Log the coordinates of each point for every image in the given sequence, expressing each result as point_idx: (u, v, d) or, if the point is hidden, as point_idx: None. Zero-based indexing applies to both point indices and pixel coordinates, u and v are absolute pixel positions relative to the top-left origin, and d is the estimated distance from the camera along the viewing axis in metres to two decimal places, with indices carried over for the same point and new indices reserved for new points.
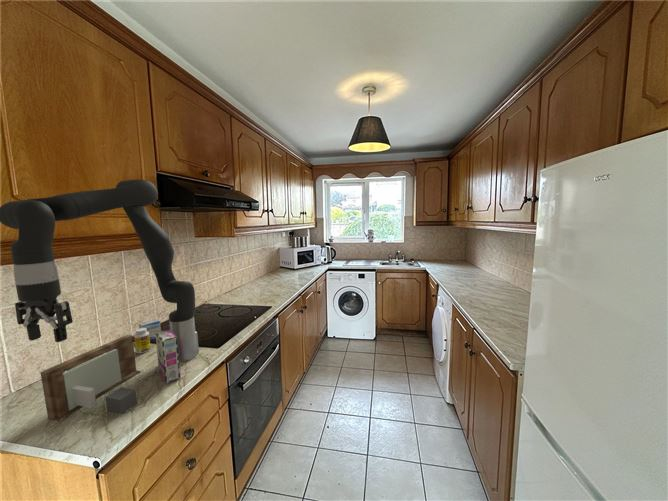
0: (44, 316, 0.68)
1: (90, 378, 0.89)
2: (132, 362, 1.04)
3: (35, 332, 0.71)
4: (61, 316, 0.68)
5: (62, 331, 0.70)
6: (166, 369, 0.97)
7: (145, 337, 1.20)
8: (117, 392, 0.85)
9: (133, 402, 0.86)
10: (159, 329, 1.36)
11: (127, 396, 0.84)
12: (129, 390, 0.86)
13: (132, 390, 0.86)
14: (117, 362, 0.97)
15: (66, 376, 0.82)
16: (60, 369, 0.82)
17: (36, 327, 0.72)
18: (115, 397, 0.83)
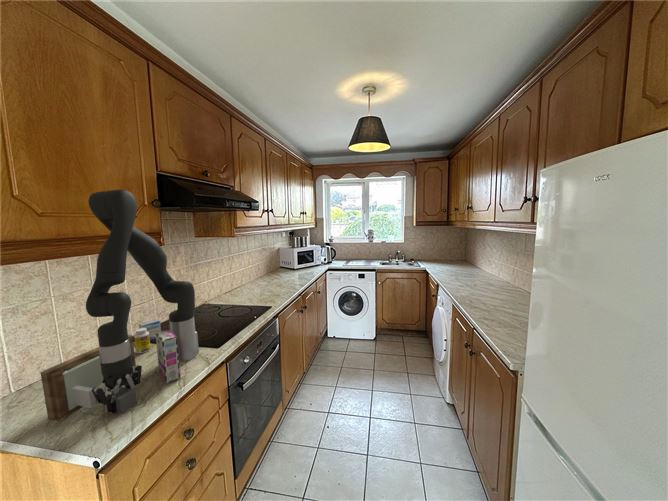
0: (130, 380, 0.87)
1: (90, 378, 0.89)
2: (132, 362, 1.04)
3: None
4: None
5: None
6: (166, 369, 0.97)
7: (145, 337, 1.20)
8: None
9: (133, 402, 0.86)
10: (159, 329, 1.36)
11: (127, 396, 0.84)
12: (129, 390, 0.86)
13: (132, 390, 0.86)
14: None
15: (66, 376, 0.82)
16: (60, 369, 0.82)
17: None
18: (115, 397, 0.83)
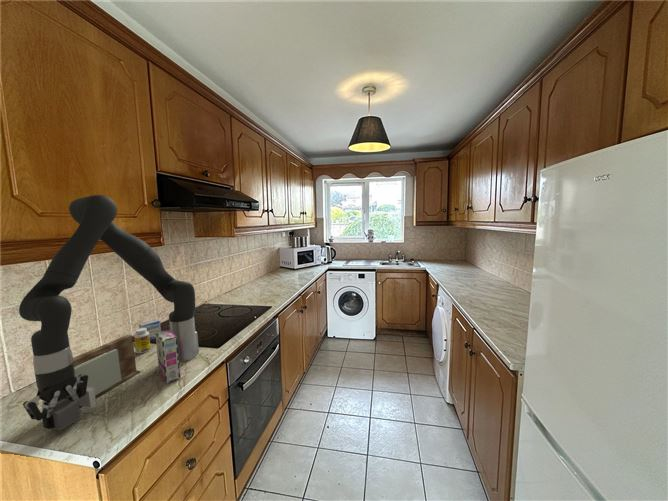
0: (73, 392, 0.78)
1: (90, 378, 0.89)
2: (132, 362, 1.04)
3: None
4: None
5: None
6: (166, 369, 0.97)
7: (145, 337, 1.20)
8: (57, 405, 0.77)
9: (75, 416, 0.78)
10: (159, 329, 1.36)
11: (67, 409, 0.76)
12: (71, 402, 0.78)
13: (74, 402, 0.78)
14: (117, 362, 0.97)
15: None
16: None
17: None
18: (53, 411, 0.75)
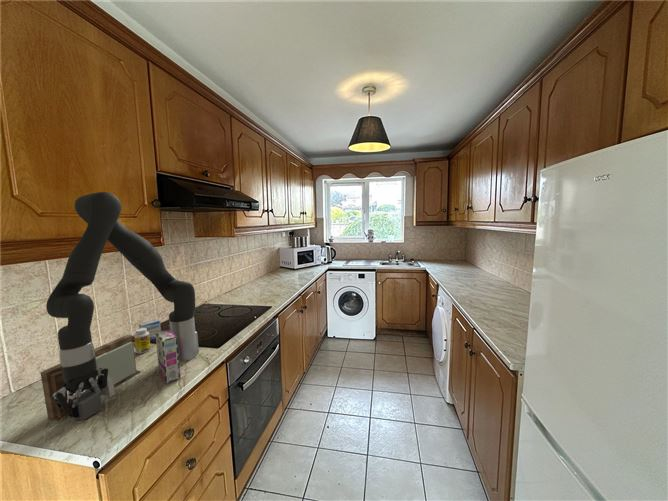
0: (95, 384, 0.84)
1: (108, 369, 0.94)
2: None
3: None
4: None
5: None
6: (166, 369, 0.97)
7: (145, 337, 1.20)
8: (80, 396, 0.83)
9: (97, 406, 0.83)
10: (159, 329, 1.36)
11: (90, 400, 0.81)
12: (93, 394, 0.84)
13: (96, 394, 0.84)
14: (132, 354, 1.02)
15: None
16: (60, 369, 0.82)
17: None
18: None
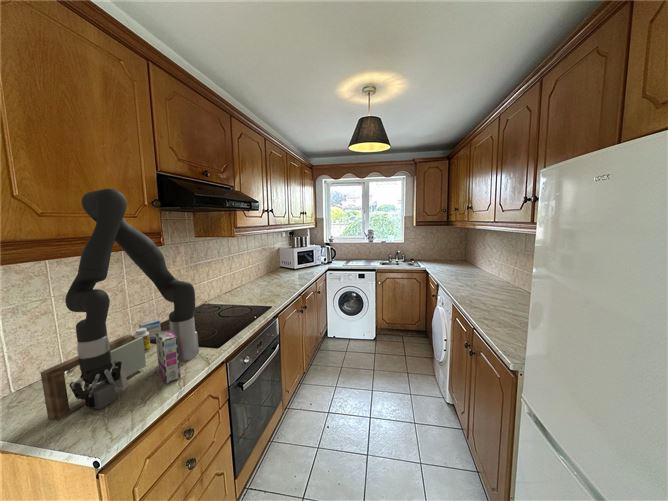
0: (109, 375, 0.88)
1: None
2: None
3: None
4: None
5: None
6: (166, 369, 0.97)
7: (145, 337, 1.20)
8: (96, 387, 0.87)
9: (112, 397, 0.87)
10: (159, 329, 1.36)
11: (105, 391, 0.86)
12: (108, 385, 0.88)
13: (111, 385, 0.88)
14: (142, 349, 1.07)
15: None
16: (60, 369, 0.82)
17: None
18: None
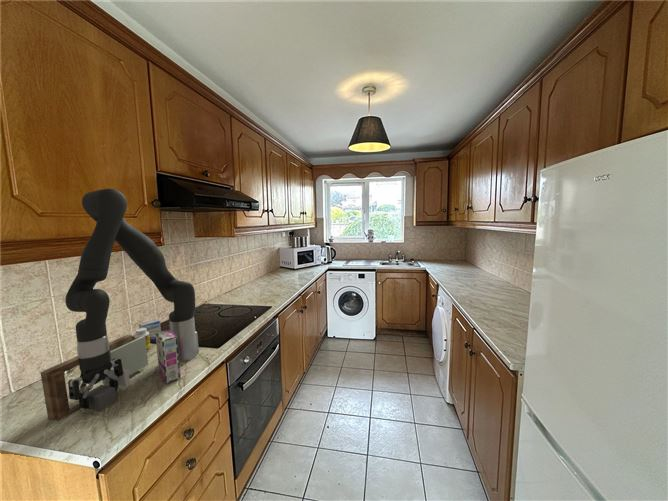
0: (111, 373, 0.88)
1: (123, 361, 0.99)
2: None
3: None
4: None
5: None
6: (166, 369, 0.97)
7: (145, 337, 1.20)
8: (96, 390, 0.87)
9: (112, 399, 0.88)
10: (159, 329, 1.36)
11: (106, 393, 0.86)
12: (108, 388, 0.88)
13: (111, 388, 0.88)
14: (145, 348, 1.07)
15: None
16: (60, 369, 0.82)
17: None
18: (94, 395, 0.85)
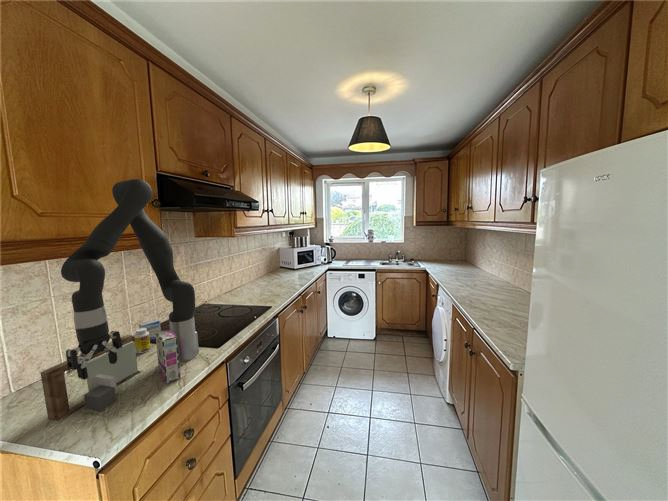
0: (109, 345, 0.88)
1: (110, 367, 0.95)
2: None
3: None
4: None
5: None
6: (166, 369, 0.97)
7: (145, 337, 1.20)
8: (96, 390, 0.87)
9: (112, 400, 0.87)
10: (159, 329, 1.36)
11: (105, 394, 0.86)
12: (108, 388, 0.88)
13: (111, 388, 0.88)
14: (134, 353, 1.03)
15: (89, 365, 0.89)
16: (60, 369, 0.82)
17: None
18: (94, 395, 0.84)
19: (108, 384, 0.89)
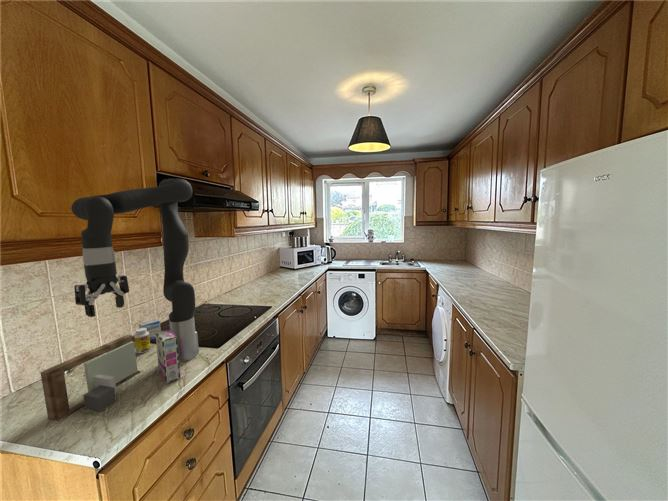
0: (117, 287, 0.88)
1: (110, 368, 0.95)
2: None
3: None
4: None
5: None
6: (166, 369, 0.97)
7: (145, 337, 1.20)
8: (95, 390, 0.87)
9: (111, 400, 0.87)
10: (159, 329, 1.36)
11: (105, 394, 0.85)
12: (108, 388, 0.88)
13: (111, 388, 0.88)
14: (133, 354, 1.03)
15: (89, 365, 0.88)
16: (60, 369, 0.82)
17: None
18: (93, 395, 0.84)
19: (108, 384, 0.89)
